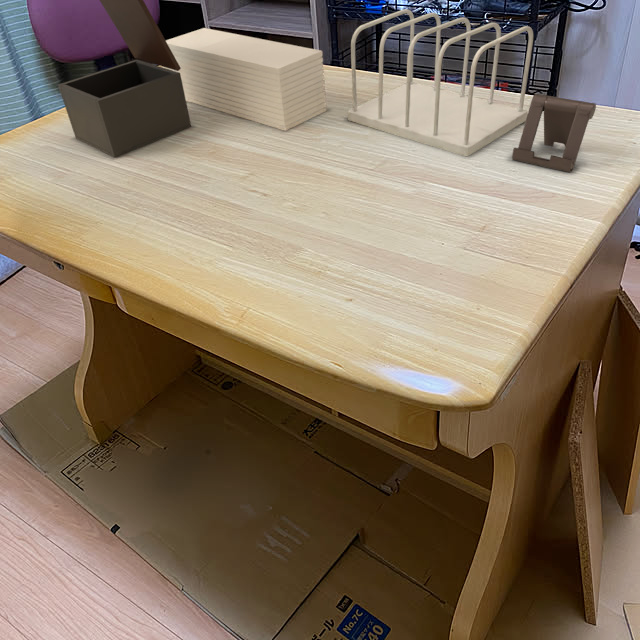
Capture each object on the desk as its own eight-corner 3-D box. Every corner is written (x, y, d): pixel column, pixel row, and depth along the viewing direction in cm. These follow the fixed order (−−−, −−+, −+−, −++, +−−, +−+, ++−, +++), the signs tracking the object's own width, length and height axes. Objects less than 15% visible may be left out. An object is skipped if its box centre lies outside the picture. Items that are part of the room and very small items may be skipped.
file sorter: (347, 121, 110) (342, 27, 100) (409, 92, 119) (410, 2, 109) (467, 158, 95) (476, 51, 85) (527, 121, 104) (541, 21, 94)
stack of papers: (173, 98, 126) (161, 41, 119) (213, 82, 132) (204, 27, 125) (285, 132, 108) (278, 68, 101) (326, 112, 114) (322, 50, 107)
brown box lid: (124, -25, 93) (148, -45, 95) (79, -32, 101) (103, -50, 103) (177, 71, 106) (199, 52, 107) (134, 58, 114) (154, 41, 115)
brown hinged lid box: (115, 159, 104) (98, 101, 98) (76, 140, 112) (57, 84, 106) (191, 128, 113) (180, 72, 106) (150, 112, 121) (136, 59, 114)
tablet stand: (509, 162, 93) (517, 107, 88) (531, 142, 98) (539, 89, 92) (568, 175, 89) (579, 118, 83) (588, 154, 93) (599, 98, 88)
